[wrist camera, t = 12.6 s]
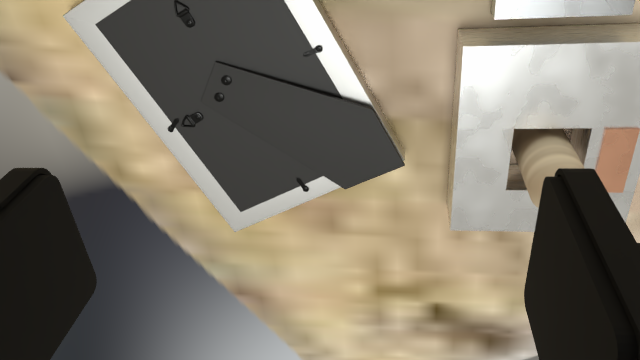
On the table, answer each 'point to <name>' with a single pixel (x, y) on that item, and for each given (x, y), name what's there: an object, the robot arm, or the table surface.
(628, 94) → the block
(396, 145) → the picture frame
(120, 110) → the table surface
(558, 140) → the peg
